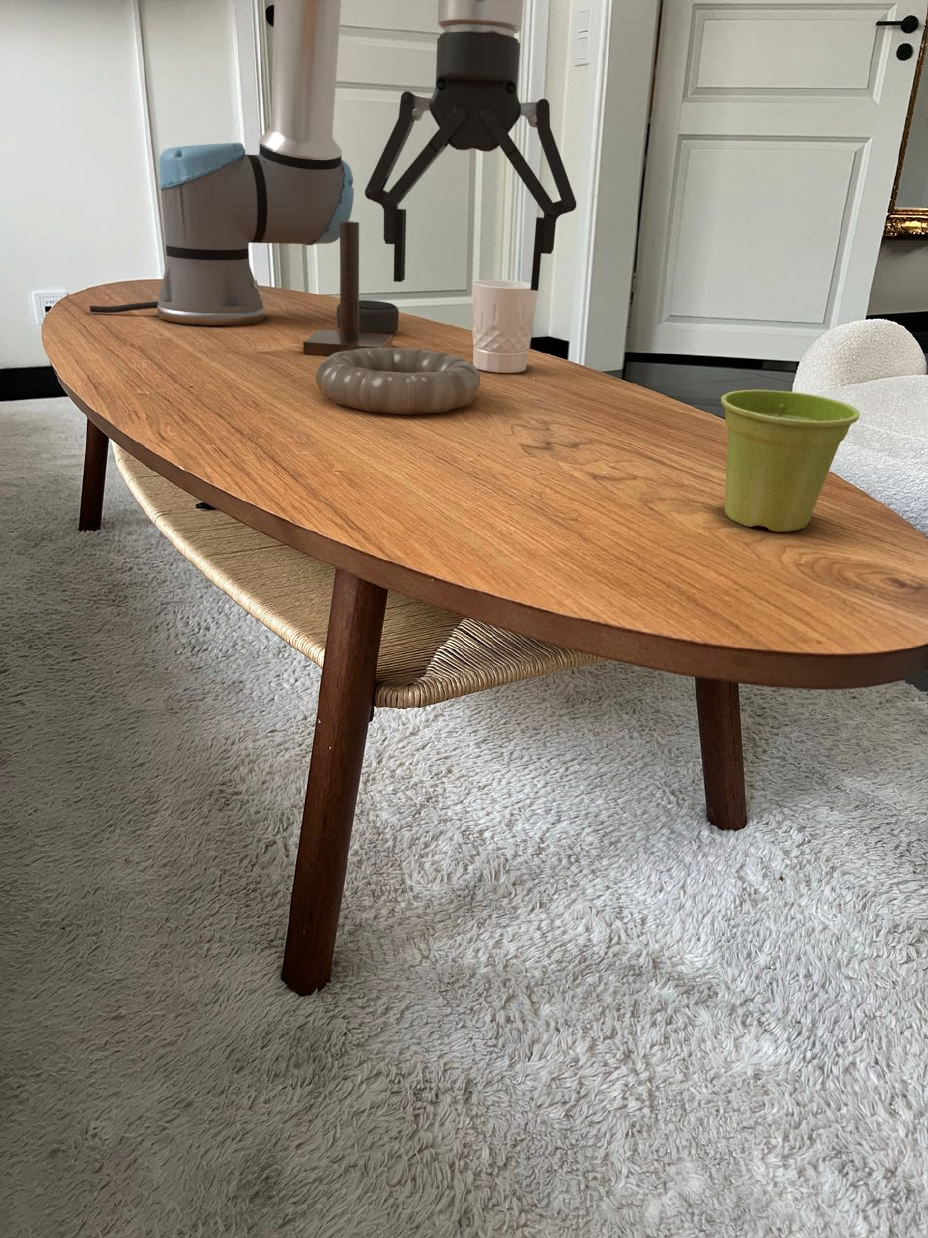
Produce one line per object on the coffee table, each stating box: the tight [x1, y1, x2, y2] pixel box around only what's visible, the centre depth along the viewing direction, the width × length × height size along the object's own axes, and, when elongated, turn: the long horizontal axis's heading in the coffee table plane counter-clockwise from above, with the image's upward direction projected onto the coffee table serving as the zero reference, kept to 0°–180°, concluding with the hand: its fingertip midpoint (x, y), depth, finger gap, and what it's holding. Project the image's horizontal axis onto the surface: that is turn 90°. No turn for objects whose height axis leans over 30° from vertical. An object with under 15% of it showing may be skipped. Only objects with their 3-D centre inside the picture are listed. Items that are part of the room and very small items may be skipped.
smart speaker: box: [336, 299, 400, 335], centre depth 130 cm, size 9×9×4 cm
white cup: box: [471, 279, 538, 374], centre depth 111 cm, size 8×8×10 cm
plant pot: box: [720, 389, 860, 533], centre depth 66 cm, size 9×9×9 cm
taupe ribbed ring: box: [315, 346, 481, 416], centre depth 95 cm, size 17×17×4 cm
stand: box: [302, 220, 394, 357], centre depth 115 cm, size 10×10×16 cm
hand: (466, 285), depth 90 cm, fingers open, 13 cm apart
